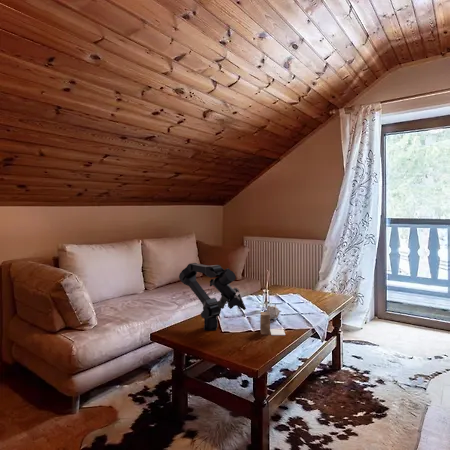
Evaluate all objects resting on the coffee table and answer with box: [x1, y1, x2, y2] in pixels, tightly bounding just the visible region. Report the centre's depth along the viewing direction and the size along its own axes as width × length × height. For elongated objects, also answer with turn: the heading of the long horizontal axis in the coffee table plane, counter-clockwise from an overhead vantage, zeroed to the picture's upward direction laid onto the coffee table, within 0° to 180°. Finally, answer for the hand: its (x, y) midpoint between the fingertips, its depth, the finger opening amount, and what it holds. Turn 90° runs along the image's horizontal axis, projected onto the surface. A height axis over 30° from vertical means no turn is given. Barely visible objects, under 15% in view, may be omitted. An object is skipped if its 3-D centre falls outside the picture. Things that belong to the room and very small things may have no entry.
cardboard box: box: [259, 311, 271, 335], centre depth 178 cm, size 5×4×10 cm
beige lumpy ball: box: [265, 303, 282, 320], centre depth 197 cm, size 9×8×10 cm
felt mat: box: [270, 328, 286, 336], centre depth 179 cm, size 7×7×1 cm
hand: (245, 309), depth 177 cm, fingers closed
